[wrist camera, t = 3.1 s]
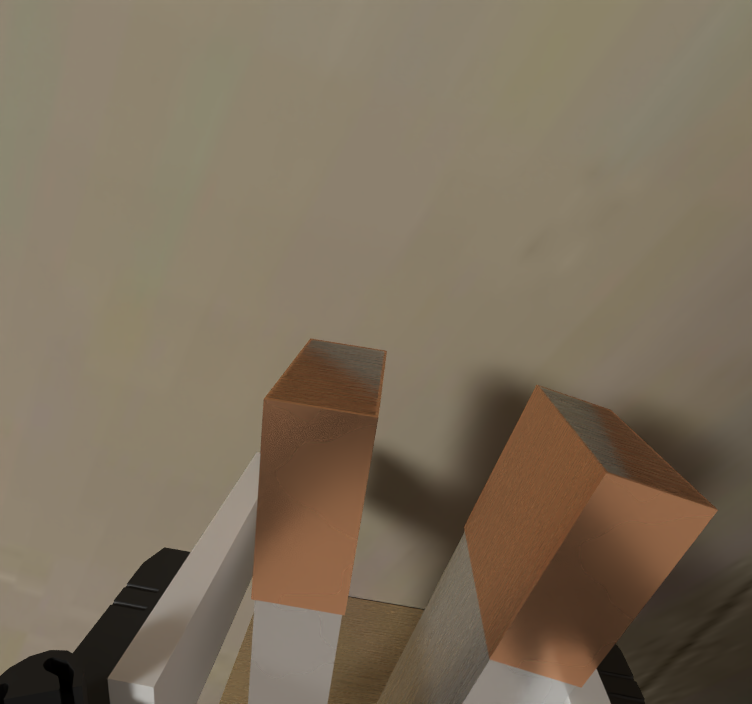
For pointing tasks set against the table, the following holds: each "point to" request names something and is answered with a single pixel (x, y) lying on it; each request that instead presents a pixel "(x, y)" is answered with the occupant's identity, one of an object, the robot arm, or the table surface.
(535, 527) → the tong arm
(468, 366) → the table surface
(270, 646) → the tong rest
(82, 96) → the table surface
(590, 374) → the table surface
